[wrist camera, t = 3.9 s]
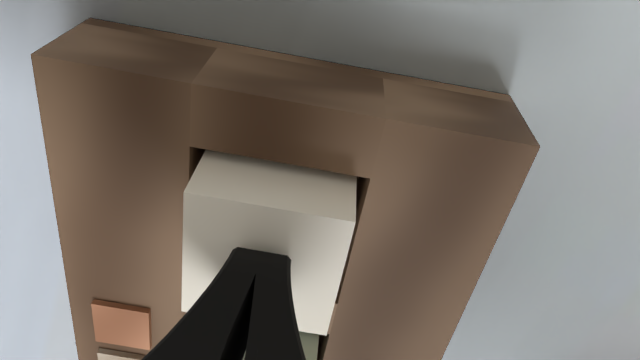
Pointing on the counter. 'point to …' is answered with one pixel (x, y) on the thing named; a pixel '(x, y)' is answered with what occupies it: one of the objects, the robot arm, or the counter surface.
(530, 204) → the counter surface
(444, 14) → the counter surface
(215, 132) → the keypad board
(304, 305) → the cream key
